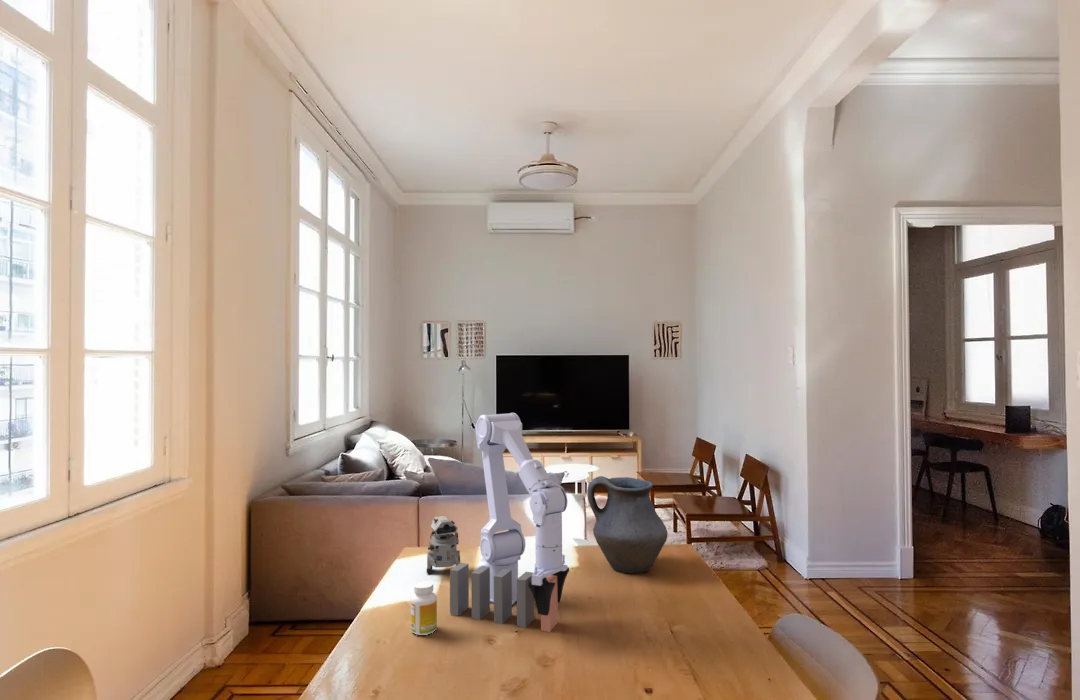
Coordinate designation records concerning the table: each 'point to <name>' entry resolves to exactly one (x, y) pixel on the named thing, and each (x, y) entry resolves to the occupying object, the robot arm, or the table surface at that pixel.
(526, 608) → the domino
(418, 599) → the supplement bottle
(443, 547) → the figurine
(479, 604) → the domino
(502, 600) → the domino
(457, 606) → the domino
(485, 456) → the robot arm
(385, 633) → the table surface
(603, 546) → the pitcher
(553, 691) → the table surface
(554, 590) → the red domino
